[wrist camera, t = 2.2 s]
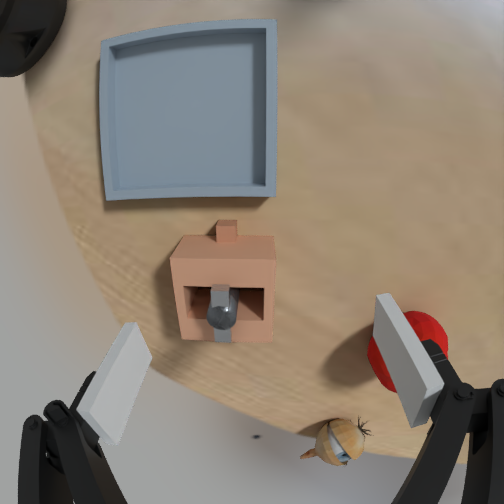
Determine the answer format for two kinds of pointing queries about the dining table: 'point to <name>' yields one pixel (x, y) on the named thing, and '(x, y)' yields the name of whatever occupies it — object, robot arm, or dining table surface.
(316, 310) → the dining table surface
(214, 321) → the grey t-shaped piece
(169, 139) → the tray
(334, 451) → the onion
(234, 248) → the ring frame
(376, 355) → the tomato
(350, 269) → the dining table surface
